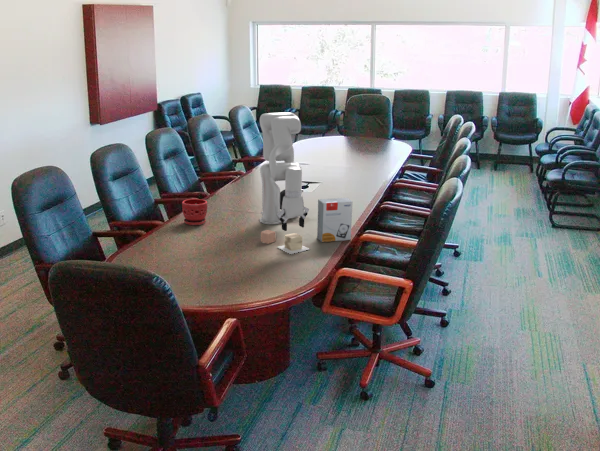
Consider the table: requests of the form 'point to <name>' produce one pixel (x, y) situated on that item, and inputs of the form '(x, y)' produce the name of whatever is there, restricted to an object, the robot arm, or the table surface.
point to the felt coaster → (293, 250)
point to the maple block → (293, 241)
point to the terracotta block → (268, 236)
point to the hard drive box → (334, 219)
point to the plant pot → (194, 211)
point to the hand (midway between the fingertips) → (293, 228)
